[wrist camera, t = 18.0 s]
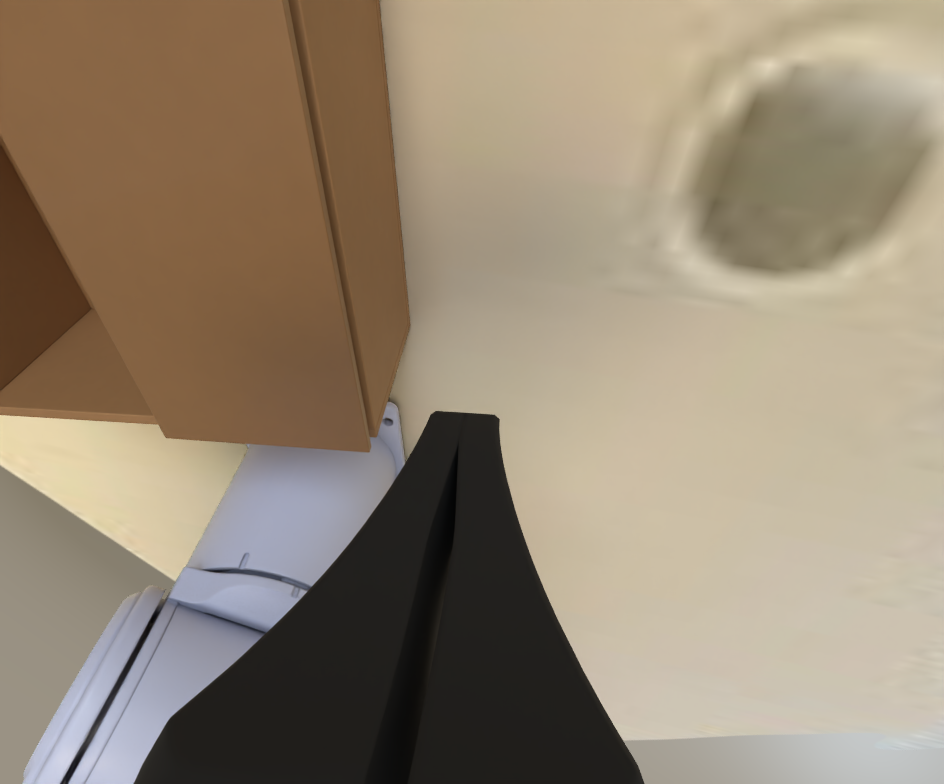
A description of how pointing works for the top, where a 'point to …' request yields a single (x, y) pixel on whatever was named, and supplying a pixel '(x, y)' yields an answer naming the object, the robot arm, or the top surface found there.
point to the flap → (190, 208)
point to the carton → (350, 215)
